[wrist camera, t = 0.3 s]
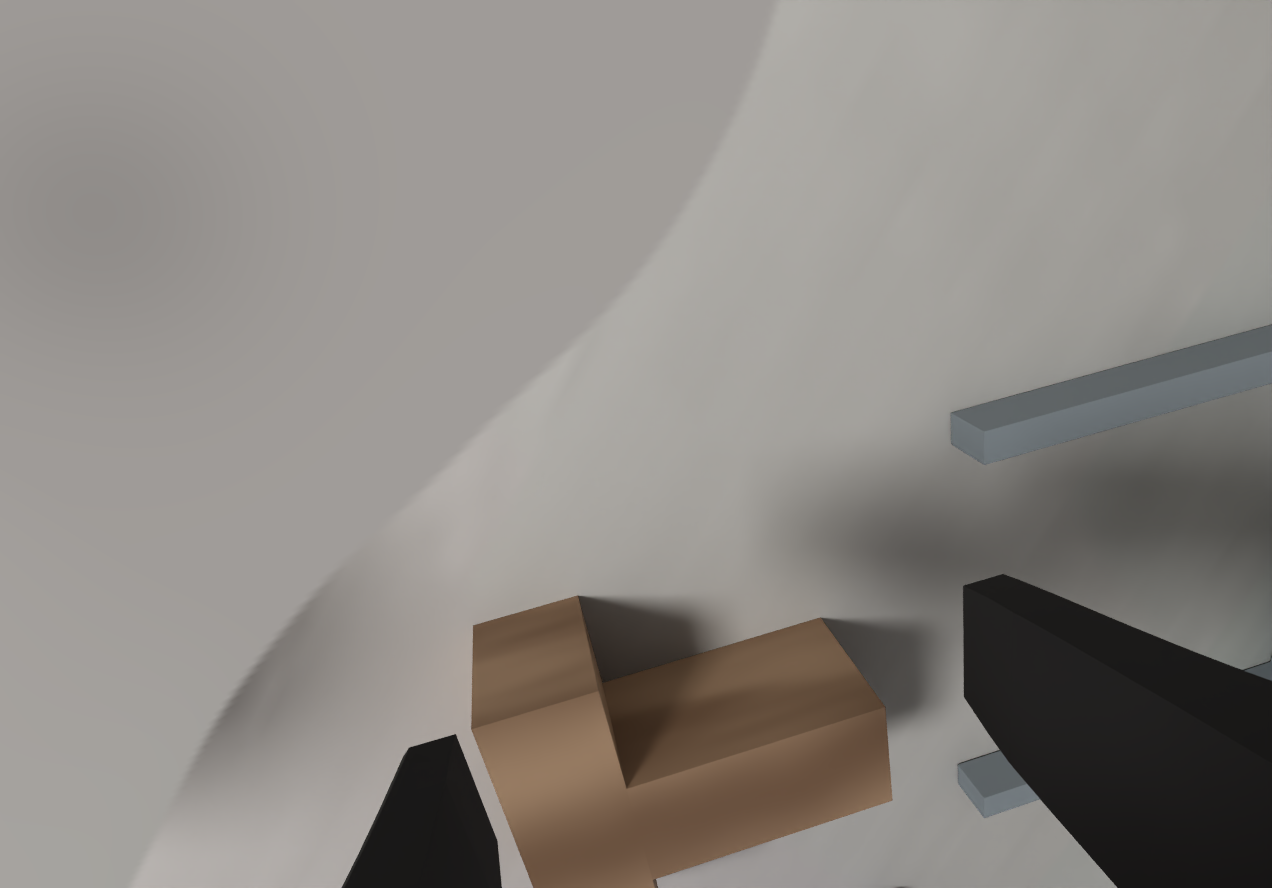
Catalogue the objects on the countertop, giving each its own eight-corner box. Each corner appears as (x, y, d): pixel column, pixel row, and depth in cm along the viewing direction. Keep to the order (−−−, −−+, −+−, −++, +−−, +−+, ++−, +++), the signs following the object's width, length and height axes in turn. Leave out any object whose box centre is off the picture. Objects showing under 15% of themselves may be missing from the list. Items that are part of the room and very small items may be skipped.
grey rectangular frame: (1289, 673, 28) (1330, 700, 27) (958, 783, 27) (984, 818, 25) (1373, 296, 22) (1432, 306, 21) (950, 412, 20) (983, 431, 19)
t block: (837, 771, 25) (897, 875, 22) (559, 861, 24) (572, 987, 21) (809, 528, 21) (877, 606, 17) (473, 624, 20) (471, 729, 16)
